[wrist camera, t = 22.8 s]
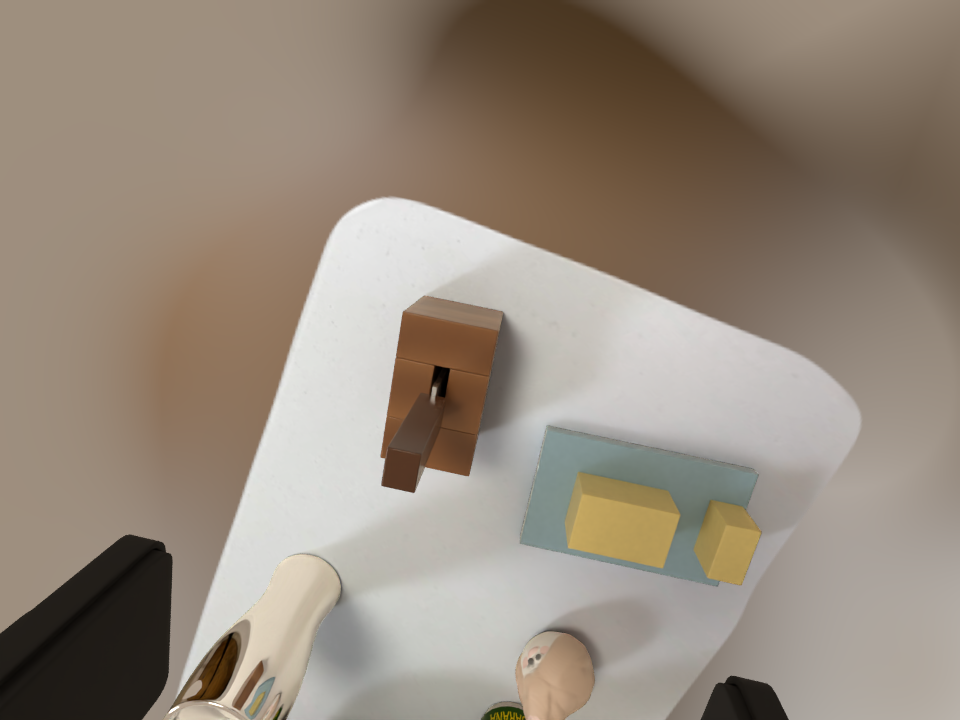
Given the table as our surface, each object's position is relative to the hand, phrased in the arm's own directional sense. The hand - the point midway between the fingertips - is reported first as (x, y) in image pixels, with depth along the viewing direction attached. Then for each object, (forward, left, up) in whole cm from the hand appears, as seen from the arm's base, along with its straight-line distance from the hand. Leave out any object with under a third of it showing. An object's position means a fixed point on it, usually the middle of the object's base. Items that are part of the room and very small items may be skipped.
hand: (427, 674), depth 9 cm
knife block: (+4, -3, -32) cm, 32 cm away
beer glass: (+26, -12, -32) cm, 43 cm away
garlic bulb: (+27, +10, -32) cm, 43 cm away
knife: (+5, -3, -32) cm, 32 cm away
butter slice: (+12, +19, -31) cm, 38 cm away
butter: (+12, +11, -31) cm, 35 cm away
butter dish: (+12, +13, -32) cm, 37 cm away
